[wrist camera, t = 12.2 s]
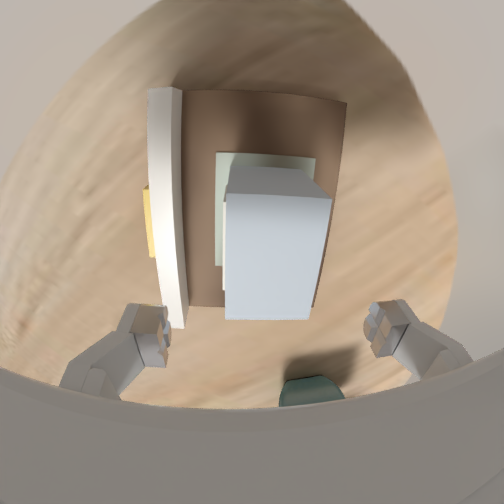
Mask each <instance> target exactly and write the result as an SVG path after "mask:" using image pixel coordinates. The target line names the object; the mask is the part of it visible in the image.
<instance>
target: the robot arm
mask: <svg viewBox="0 0 504 504" xmlns="http://www.w3.org/2000/svg"><path fill="white" fill-rule="evenodd" d="M369 311H370V314H369V315H368V316H367V317H366V318H365V321H364V328H363V330H364V335H365V337H366V339H367V340H369V341H370V342H372V343H371V346H370V347H371V349H372V351H373V353H374V355H375V357H376V358H378V357H385V356H391V355H393V357H394V358H395V359H396V360H397V361H398V362H400V363H401V364H402V365H403V366H404V367H406V368H407V369H408V370H409V371H410V372H411V373H413V374H414V375H415V376H416V377H418V378H419V379H420V381H418V382H415V383H412V384H408V385H404V386H401V387H397V388H393V389H389V390H385V391H381V392H376V393H372V394H367V395H363V396H358V397H352V398H347V399H341V400H335V401H329V402H322V403H314V404H306V405H296V406H286V407H272V408H252V409H203V408H183V407H170V406H160V405H150V404H142V403H135V402H128V401H122V400H121V399H120V397H119V395H120V394H121V393H122V391H123V390H124V389H125V388H126V387H127V386H128V385H129V384H130V383H131V382H132V381H133V380H134V379H135V378H136V376H137V375H138V374H139V373H140V372H141V371H142V370H143V369H144V368H145V367H160V368H166V365H167V359H168V351H167V348H168V347H169V346H170V343H171V324H170V322H169V321H168V320H167V318H168V314H169V313H168V309H167V306H166V305H153V304H137V303H129V304H128V305H127V306H126V308H125V311H124V313H123V315H122V318H121V320H120V322H119V325H118V327H117V330H116V332H115V331H112V332H111V333H109V334H108V335H106V336H105V337H104V338H102V339H101V340H99V341H98V342H97V343H95V344H94V345H92V346H91V347H90V348H88V349H87V350H85V351H84V352H83V353H81V354H80V355H78V356H77V357H76V358H74V359H73V360H71V361H70V362H69V364H68V366H67V368H66V370H65V373H64V375H63V377H62V380H61V382H60V384H59V387H58V386H54V385H51V384H48V383H44V382H41V381H38V380H35V379H32V378H29V377H26V376H23V375H20V374H18V373H15V372H12V371H10V370H7V369H5V368H2V367H0V504H504V348H503V349H501V350H498V351H496V352H494V353H492V354H490V355H488V356H486V357H483V358H481V359H479V360H477V361H473V360H472V358H471V357H470V355H469V354H468V352H467V351H466V350H465V348H464V347H463V345H462V344H460V343H459V342H457V341H455V340H454V339H452V338H450V337H449V336H447V335H445V334H443V333H441V332H440V331H438V330H436V329H435V328H433V327H431V326H430V325H428V324H426V323H424V322H420V321H419V319H418V318H417V316H416V315H415V314H414V312H413V311H412V310H411V308H410V307H409V306H408V304H407V303H406V302H405V300H403V299H397V300H391V301H379V302H373V303H372V304H371V305H370V308H369Z"/></svg>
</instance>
